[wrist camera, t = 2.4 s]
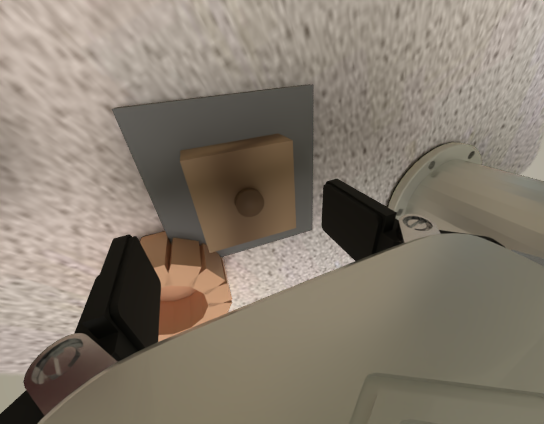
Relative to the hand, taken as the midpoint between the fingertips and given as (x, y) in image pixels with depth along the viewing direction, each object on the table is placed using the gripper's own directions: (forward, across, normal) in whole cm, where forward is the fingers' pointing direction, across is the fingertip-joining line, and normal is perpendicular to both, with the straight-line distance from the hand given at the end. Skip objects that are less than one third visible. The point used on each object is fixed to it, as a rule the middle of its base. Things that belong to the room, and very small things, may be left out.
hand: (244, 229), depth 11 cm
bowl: (+7, +6, +7) cm, 12 cm away
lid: (+6, -1, 0) cm, 6 cm away
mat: (+7, -1, 0) cm, 7 cm away
